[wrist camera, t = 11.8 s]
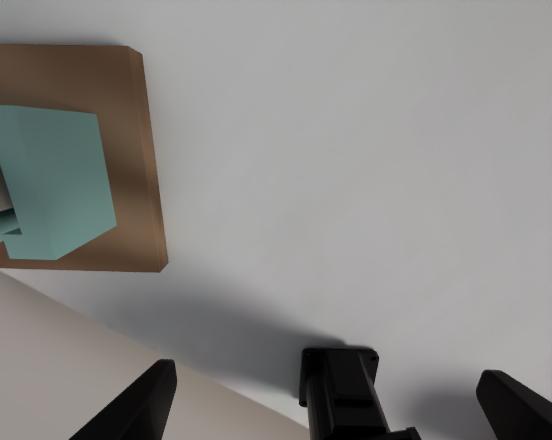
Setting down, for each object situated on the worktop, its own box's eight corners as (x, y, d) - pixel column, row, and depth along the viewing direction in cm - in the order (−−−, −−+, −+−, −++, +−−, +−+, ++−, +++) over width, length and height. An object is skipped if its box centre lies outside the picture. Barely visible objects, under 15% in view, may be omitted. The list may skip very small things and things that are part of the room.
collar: (116, 225, 18) (55, 259, 13) (14, 222, 18) (-84, 255, 13) (96, 114, 15) (13, 105, 11) (-21, 111, 15) (-157, 101, 11)
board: (168, 262, 20) (92, 350, 12) (15, 258, 20) (-162, 341, 12) (141, 54, 16) (-8, -31, 7) (-56, 50, 16) (-411, -37, 8)
